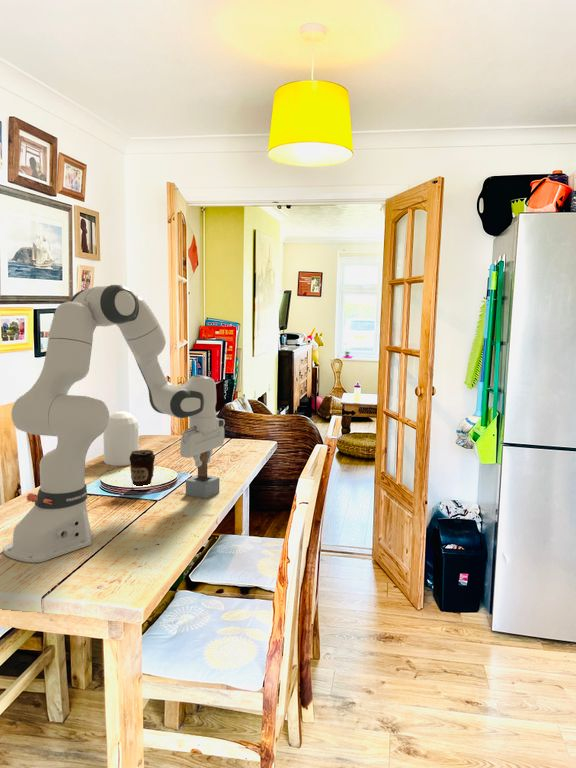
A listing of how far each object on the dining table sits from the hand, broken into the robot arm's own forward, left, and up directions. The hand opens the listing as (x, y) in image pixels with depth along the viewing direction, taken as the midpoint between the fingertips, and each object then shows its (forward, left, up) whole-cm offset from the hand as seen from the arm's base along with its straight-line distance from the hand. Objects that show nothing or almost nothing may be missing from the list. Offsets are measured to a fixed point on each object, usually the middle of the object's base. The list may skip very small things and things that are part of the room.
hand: (202, 464), depth 194 cm
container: (+15, +50, -10) cm, 53 cm away
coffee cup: (-7, +20, -10) cm, 23 cm away
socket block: (0, 0, -10) cm, 10 cm away
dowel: (0, 0, -5) cm, 5 cm away
